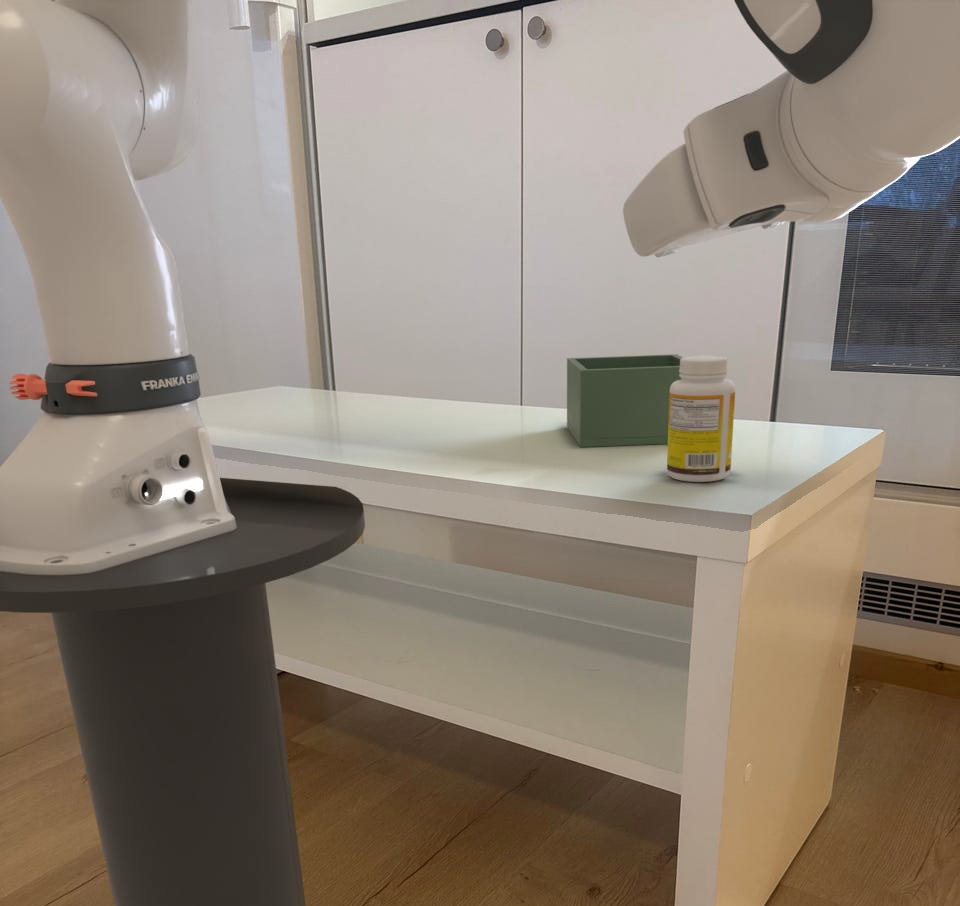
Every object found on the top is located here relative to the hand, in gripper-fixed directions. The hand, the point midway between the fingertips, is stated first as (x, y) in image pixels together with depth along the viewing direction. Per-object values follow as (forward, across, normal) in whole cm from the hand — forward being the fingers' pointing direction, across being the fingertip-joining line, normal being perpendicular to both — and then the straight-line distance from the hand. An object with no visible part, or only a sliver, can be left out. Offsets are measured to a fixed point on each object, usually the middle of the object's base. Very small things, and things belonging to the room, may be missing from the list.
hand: (714, 231), depth 71 cm
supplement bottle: (+12, +1, +17) cm, 21 cm away
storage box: (+32, -4, +10) cm, 34 cm away
